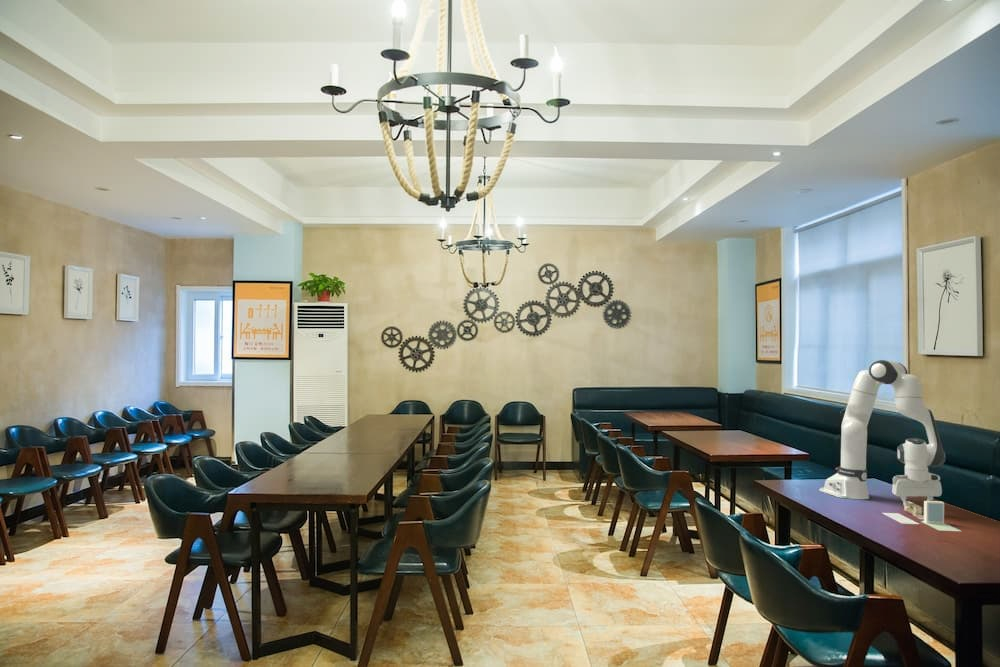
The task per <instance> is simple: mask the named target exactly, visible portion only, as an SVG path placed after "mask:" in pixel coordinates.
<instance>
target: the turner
mask: <svg viewBox="0 0 1000 667" xmlns="http://www.w3.org/2000/svg"><path fill="white" fill-rule="evenodd" d="M906 501H907V500H906ZM907 502H909V506H904V505H903V507H904V508H903V511H905V512H907V513H909V514H911V515H912V516H913V517H915V518H917V519H919V520H924V514H922V511H923V508H922V506H921V505H919V504H916V503H914V502H911V501H907Z"/></svg>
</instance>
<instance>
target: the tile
mask: <svg viewBox="0 0 1000 667" xmlns="http://www.w3.org/2000/svg"><path fill="white" fill-rule="evenodd" d="M923 515H924V519H923V521H924V522H925V523H934V524H944V523H945V502H944V501H939V500H932V501H927V500H924V501H923ZM925 523H924V524H925Z"/></svg>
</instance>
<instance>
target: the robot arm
mask: <svg viewBox="0 0 1000 667" xmlns="http://www.w3.org/2000/svg"><path fill="white" fill-rule="evenodd" d="M908 373H909V371H908V369H907V368H906V366H905V365H904V364H902V363H901V362H897V361H893V360H885V359H879V360H876V361H874V362H872V363H871V364H870V365H869V368H868V369H862V370H861V371H859V372H858V373H857V375H856V377H855V380H854V381H853V384H852V387H851V390H850V393H849V398H848V402H847V406H846V407H845V412H844V414H843V418H842V421H841V426H840V427H841V429H840V430H841V434H840V435H841V436H840V437H841V438H840V465H839V466H837V467H835V469H834V470H837V471H836V473H834V474H833V475H832V476H830V477H828V478H826V480H825V482H824V485H823V487H819V490H818V491H819V492H822V493H824V494H828V495H832V496H834V497H837V498H840V499H852V500H869V499H870V496H869V492H868V487H867V477H868V469H867V449H868V448H867V445H868V444H867V443H868V424H869V421H870V418H871V416H872V413H873V410H874V407H875V403H876V400H877V396H878V392H879V390H880V389H879V388H880V387H881V386H882V385H890V386H892V387H893V390H894V392H893V393H894V405H895V408H896V410H897V411H898V413H900V414H901V415H902V416H905V417H906V418H909V419H913V420H915V421H917V422H918V423H921V424H922V425H923V426H924V428H925V431H926V436H927V439H928V444H927V442H926V441H925V440H924V439H921V438H917V437H911V438H910V437H909V438H906V439H905V442H904V443H900V445H898V446H897V447H896V459H897V460H898V461H899V462H901V463H902V464H904V474H897V475H895V476H893V477H892V487H891V493H892V494H893V495H894V496H896V497H900V499H901V501H902V504H903V507H904V506H909V502H910V501H908V502H907V497H926V498H927V500H926V501H934V497H941V496H942V494H943V489H942V483H941V476H940V475H938V474H935V473H932V472H930V471H929V467H933V468H939V467H940V466H942V465H944V463H945V462H946V454H945V453H946V452H945V451H944V449H943V448H944V447H943V446H942V442H941V439H940V434H939V430H938V426H937V423H936V420H935V417H934V414H933V412H932V411H931V409H929V408H927V407H926V405H925V403H924V398H923V390H922V386H921V382H920V378H919V377H918V376H916V375H914V374H908Z"/></svg>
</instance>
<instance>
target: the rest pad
mask: <svg viewBox="0 0 1000 667" xmlns="http://www.w3.org/2000/svg"><path fill="white" fill-rule="evenodd" d="M882 514H883V515H885V516H886V517H888V518H890V519H892V520H894V521H896V522H898V523H900V524H901V525H920V524H921V523H919V522H916V521H915V520H913V519H911V518H909V517H907V516H904V515H902V514H901V513H897V512H895V513H894V512H882Z"/></svg>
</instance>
